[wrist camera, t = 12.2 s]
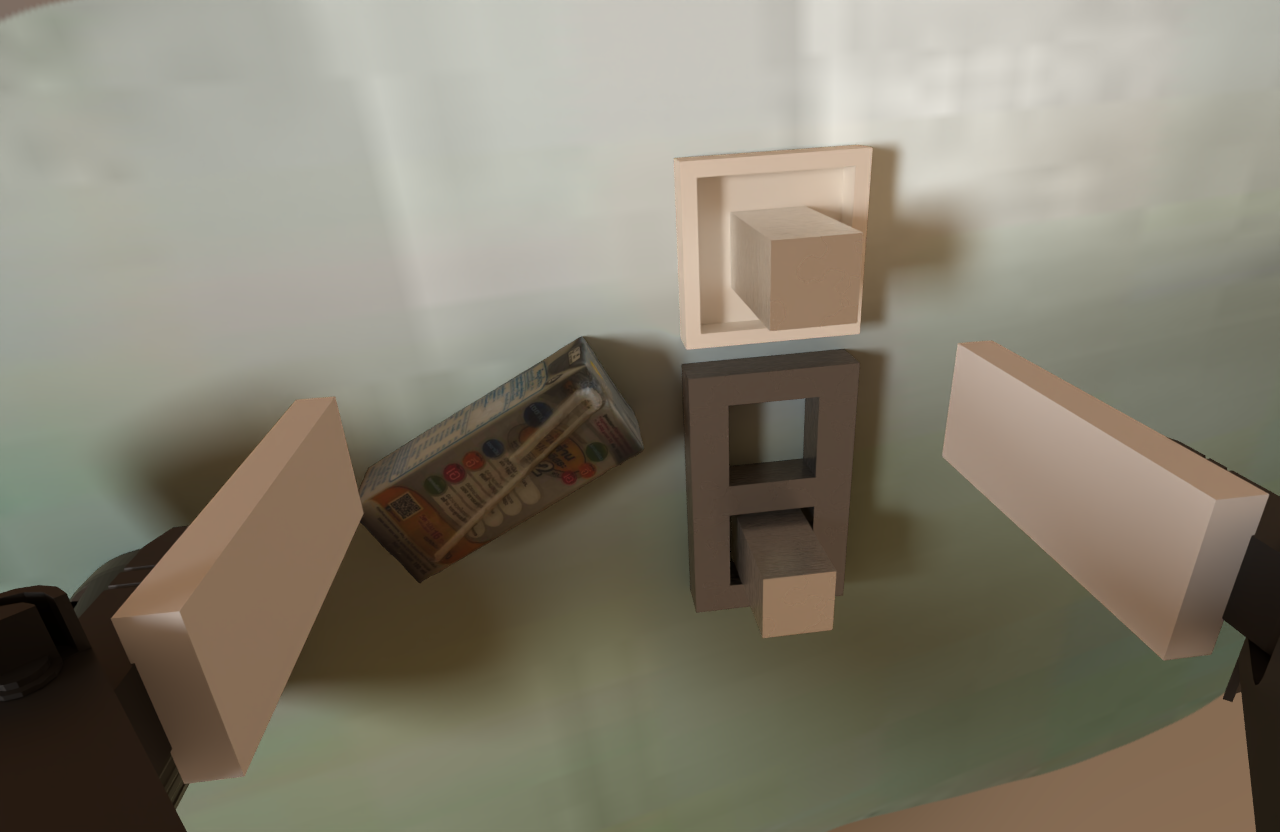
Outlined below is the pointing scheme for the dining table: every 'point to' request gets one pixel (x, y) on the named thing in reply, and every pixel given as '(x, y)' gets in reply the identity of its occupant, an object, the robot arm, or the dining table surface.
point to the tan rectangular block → (796, 267)
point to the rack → (769, 485)
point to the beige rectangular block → (783, 572)
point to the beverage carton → (499, 461)
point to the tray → (755, 183)
